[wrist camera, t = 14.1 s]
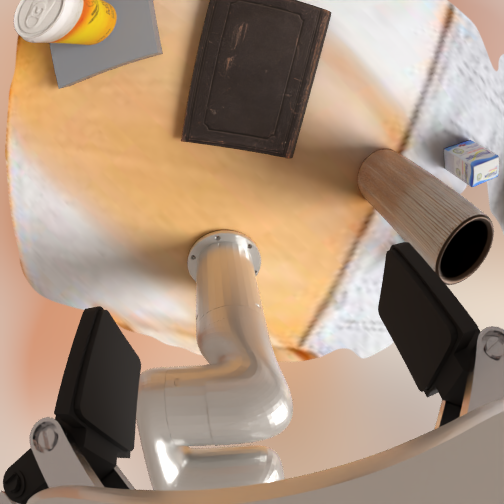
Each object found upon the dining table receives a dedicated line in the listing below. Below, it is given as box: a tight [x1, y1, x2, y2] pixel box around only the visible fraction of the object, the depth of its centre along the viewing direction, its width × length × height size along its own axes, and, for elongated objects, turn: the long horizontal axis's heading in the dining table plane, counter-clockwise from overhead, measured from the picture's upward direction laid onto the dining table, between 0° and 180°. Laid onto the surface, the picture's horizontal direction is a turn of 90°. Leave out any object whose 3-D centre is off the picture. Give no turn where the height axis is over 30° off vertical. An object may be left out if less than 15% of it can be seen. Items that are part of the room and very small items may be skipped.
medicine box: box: [444, 140, 499, 187], centre depth 42 cm, size 8×4×9 cm, turn 111°
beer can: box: [14, 0, 117, 45], centre depth 19 cm, size 6×6×15 cm
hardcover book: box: [181, 0, 331, 158], centre depth 35 cm, size 16×23×2 cm
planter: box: [358, 149, 494, 285], centre depth 38 cm, size 10×10×23 cm
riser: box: [49, 0, 163, 89], centre depth 26 cm, size 14×14×4 cm
